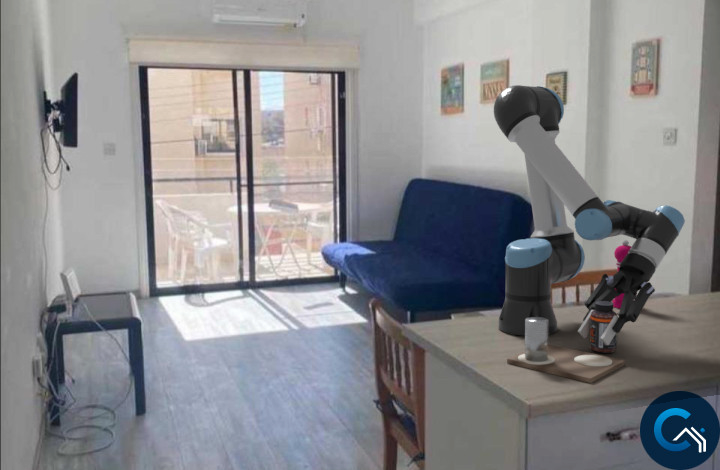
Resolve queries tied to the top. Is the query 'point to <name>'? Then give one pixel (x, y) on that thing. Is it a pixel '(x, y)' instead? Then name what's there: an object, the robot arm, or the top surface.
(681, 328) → the top surface
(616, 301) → the pepper mill
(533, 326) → the pin
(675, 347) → the top surface
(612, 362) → the board
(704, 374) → the top surface
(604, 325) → the supplement bottle
